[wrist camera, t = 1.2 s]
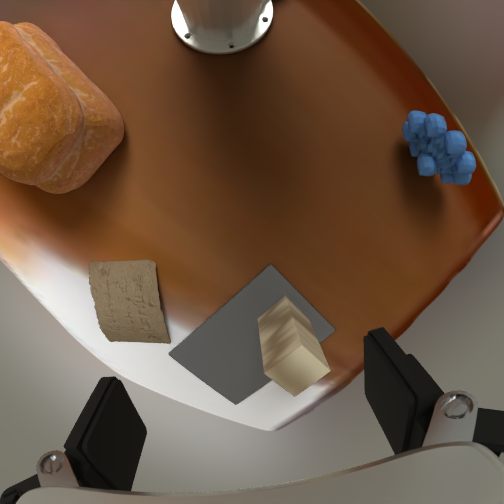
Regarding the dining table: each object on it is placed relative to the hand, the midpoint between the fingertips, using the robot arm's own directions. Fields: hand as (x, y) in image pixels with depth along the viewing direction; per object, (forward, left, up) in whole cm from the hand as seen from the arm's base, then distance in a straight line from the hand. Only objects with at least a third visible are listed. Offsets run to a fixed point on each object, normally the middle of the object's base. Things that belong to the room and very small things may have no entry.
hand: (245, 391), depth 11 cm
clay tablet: (+19, -3, -31) cm, 36 cm away
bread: (+7, -31, -30) cm, 43 cm away
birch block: (+5, +13, -29) cm, 32 cm away
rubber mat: (+11, +13, -30) cm, 34 cm away
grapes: (-23, +8, -30) cm, 39 cm away
